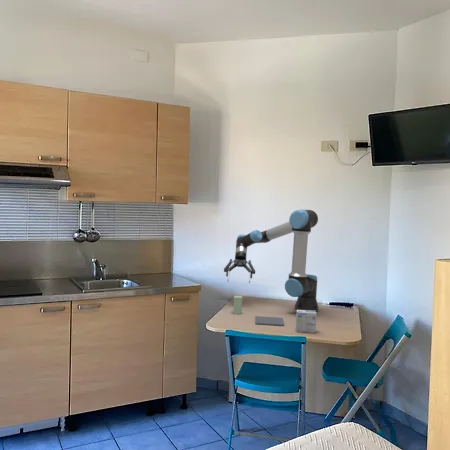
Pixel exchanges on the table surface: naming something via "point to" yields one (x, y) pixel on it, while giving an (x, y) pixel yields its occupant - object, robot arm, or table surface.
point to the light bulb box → (306, 321)
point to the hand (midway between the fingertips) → (238, 281)
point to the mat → (269, 321)
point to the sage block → (237, 305)
